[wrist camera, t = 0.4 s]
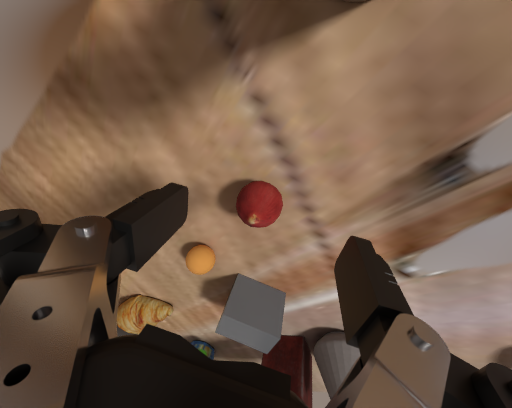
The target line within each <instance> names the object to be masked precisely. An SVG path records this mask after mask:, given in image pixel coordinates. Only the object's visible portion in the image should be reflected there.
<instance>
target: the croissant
mask: <svg viewBox="0 0 512 408" xmlns="http://www.w3.org/2000/svg"><path fill="white" fill-rule="evenodd" d="M172 312H173V307H172V306H171V305H169V304H167V303H165V302H163V301H160V300H157V299H154V298H150V297H146V296H142V295H138V296H136V297H132V298H129V299H128V300H126V301H125V302H123V303H122V304H121V305H119V306H118V311H117V323H118V327H120V328H121V329H122V330H124V331H126V332H128V333H135V334H140V332H141V331H142V329H143V328H144V327H145V325H146V324H150V325H153V326H155V325H156V324H157V323H158V322H159V321H163V320H164V319H165V318H166V317H167V316H170V315H171V313H172Z"/></svg>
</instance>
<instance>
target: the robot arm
mask: <svg viewBox="0 0 512 408" xmlns="http://www.w3.org/2000/svg"><path fill="white" fill-rule="evenodd" d="M343 1H348V2H361V1H366V0H343ZM187 211H188V188H187V187H186V186H182V185H179V184H176V183H169V184H168V185H166V186H164V187H163V188H161V189H156V190H153V191H149V192H147V193H145V194H143V195H141V196H140V197H139V198H136V199H135V200H133V201H132V202H130V203H128V204H126V205H124V206H123V207H121V208H119V209H118V210H116V211H114V212H112V213H111V214H109V215H107V216H106V217H102V216H84V217H79V218H76V219H73V220H71V221H68V222H67V223H65V224H64V225H52V224H41V221H40V218H39V216H38V214H37V213H36V212H35V211H32V210H28V209H11V210H4V211H0V408H309V407H308V406H307V405H306V404H305V403H304V401H303V400H301V399H300V398H299V397H298V396H297V395H296V394H295V393H294V392H292V391H291V390H290V388H291V376H290V375H288V374H285V373H282V372H279V371H277V370H274V369H271V368H268V367H266V366H263V365H260V364H257V363H255V362H237V361H216V360H212V359H210V358H209V357H207V356H206V355H205V354H204V353H202V352H201V351H200V350H198V349H197V348H196V347H194V346H193V345H192V344H191V343H189V342H188V341H187V340H185V339H184V338H183V337H182V336H180V335H177V334H175V333H172V332H169V331H166V330H164V329H161V328H158V327H155V326H153V325H150V324H146V325H145V327H144V328H143V329H142V331H141V332H140V334H139V335H136V334H135V335H125V336H119V337H117V325H116V324H117V311H118V302H119V292H120V283H121V274H120V273H121V272H122V271H124V270H125V269H126V268H127V269H130V270H133V271H136V272H137V271H138V270H139V269H140V268H141V267H142V266H143V265H144V264H145V263H146V262H147V261H148V260H149V259H150V258H151V257H152V256H153V255H154V254H155V253H156V252H157V251H158V250H159V249H160V248H161V247H162V246H163V245H164V244H165V243H166V242H167V241H168V240H169V239H170V238H171V237H172V236H173V234H174V233H175V232H176V231H177V230H178V229H179V228H180V227H181V226H182V225H183V224H184V222H185V220H186V218H187ZM334 273H335V279H336V285H337V291H338V297H339V303H340V309H341V314H342V320H343V326H344V332H345V338H346V344H347V345H350V346H353V347H356V348H359V351H360V356H359V357H358V359H357V360H356V361H355V363H354V364H353V366H352V368H351V369H350V371H349V372H348V374H347V376H346V377H345V379H344V380H343V382H342V383H341V385H340V387H339V388H338V390H337V391H336V393H335V394H334V396H333V398H332V399H331V401H330V402H329V403H328V405H327V406H326V407H325V408H512V370H511V369H509V368H507V367H505V366H503V365H500V364H497V363H489V364H488V365H486V366H484V367H483V368H481V369H480V370H479V369H477V368H475V367H474V366H472V365H470V364H469V363H467V362H465V361H463V360H462V359H460V358H458V357H457V356H455V355H453V354H451V353H450V352H449V349H448V347H447V345H446V343H445V342H444V341H443V339H442V338H441V337H440V335H439V334H438V333H437V332H436V331H435V330H434V329H433V328H432V327H430V326H429V325H428V324H427V323H425V322H424V321H422V320H421V319H419V318H417V317H415V316H414V315H413V313H412V311H411V309H410V307H409V305H408V303H407V301H406V299H405V297H404V295H403V293H402V291H401V289H400V287H399V285H397V281H396V279H395V277H394V276H393V273H392V271H391V269H390V267H389V265H388V264H387V263H386V262H385V261H384V260H383V258H382V257H381V256H380V255H378V254H376V252H375V250H374V248H373V246H372V243H371V242H370V241H369V240H366V239H362V238H359V237H356V236H350V237H349V239H348V240H347V242H346V244H345V246H344V248H343V249H342V251H341V253H340V255H339V257H338V258H337V261H336V263H335V268H334Z"/></svg>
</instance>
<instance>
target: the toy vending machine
mask: <svg viewBox="0 0 512 408" xmlns="http://www.w3.org/2000/svg"><path fill="white" fill-rule="evenodd" d="M261 365H263V366H266V367H268V368H271V369H274V370H277V371H279V372H282V373H285V374H288V375H290V376H291V388H290V390H291V391H292V392H294V393H295V394H296V395H297V396H298V397H299V398H300V399H301V400H303V401H304V403H305V404H306V405H307V406H308V407H309V408H312V356H311V354H310V351H309V348H308V346H307V343H306V340H305V337H303V336H287V335H281V339H280V340H279V341H278V342H277V343H276V345H275V346H274V347H273V348H272V349H271V350H270V351H269V353H268V354H265V353H263V358H262V363H261Z"/></svg>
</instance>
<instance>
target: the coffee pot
mask: <svg viewBox="0 0 512 408" xmlns="http://www.w3.org/2000/svg"><path fill="white" fill-rule="evenodd" d="M359 356H360V351H359V348H356V347H353V346H350V345H347V344H346V338H345V332H330V333H327V334H325V335H324V336H323V337H322V338H321V339H320V340H318V341H317V343H316V345H315V347H314V357H315V360H316V362H317V365H318V368H319V370H320V373H321V376H322V378H323V381H324V384H325V386H326V389H327V392H328V394H329V397H330V399H332V398H333V396H334V394H335V393H336V391H337V390H338V388H339V387H340V385H341V383H342V382H343V380H344V379H345V377H346V376H347V374H348V372H349V371H350V369H351V368H352V366H353V364H354V363H355V361H356V360H357V359H358V357H359Z"/></svg>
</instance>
